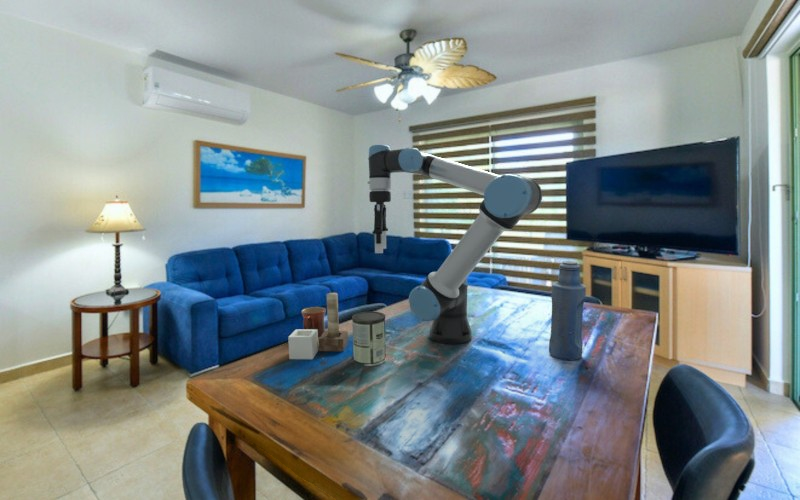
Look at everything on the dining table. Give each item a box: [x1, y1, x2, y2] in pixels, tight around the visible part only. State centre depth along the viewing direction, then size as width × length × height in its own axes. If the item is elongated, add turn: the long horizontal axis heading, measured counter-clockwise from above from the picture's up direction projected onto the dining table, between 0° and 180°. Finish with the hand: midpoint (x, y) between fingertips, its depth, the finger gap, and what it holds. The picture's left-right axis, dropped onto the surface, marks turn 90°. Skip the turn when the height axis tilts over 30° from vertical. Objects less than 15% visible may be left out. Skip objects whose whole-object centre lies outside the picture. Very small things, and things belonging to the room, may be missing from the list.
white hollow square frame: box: [287, 328, 319, 360], centre depth 119 cm, size 7×7×8 cm
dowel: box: [326, 292, 340, 337], centre depth 125 cm, size 4×4×18 cm
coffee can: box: [351, 311, 387, 367], centre depth 117 cm, size 10×10×14 cm
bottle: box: [548, 260, 587, 361], centre depth 118 cm, size 10×10×30 cm
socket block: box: [318, 330, 349, 352], centre depth 126 cm, size 8×8×5 cm
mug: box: [301, 306, 327, 338], centre depth 136 cm, size 12×9×10 cm
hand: (380, 250), depth 135 cm, fingers open, 13 cm apart
